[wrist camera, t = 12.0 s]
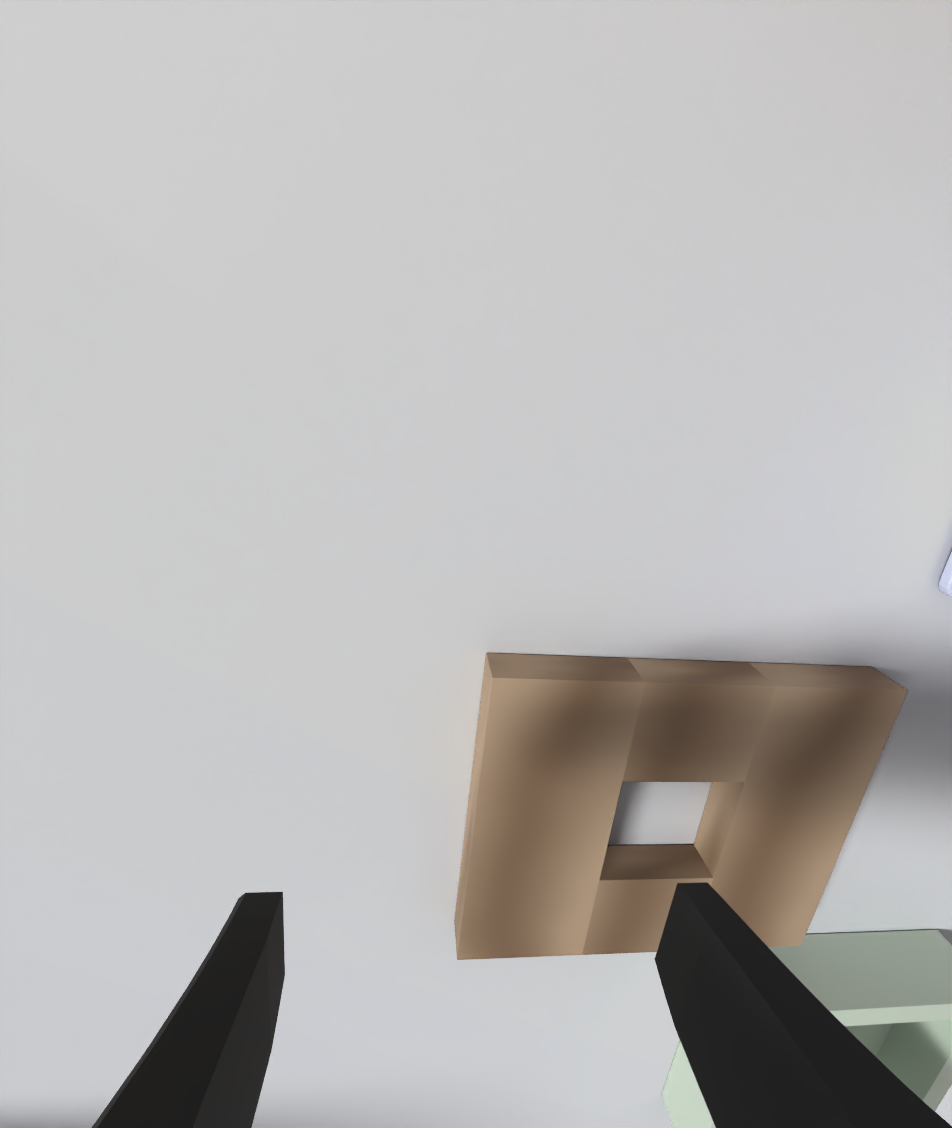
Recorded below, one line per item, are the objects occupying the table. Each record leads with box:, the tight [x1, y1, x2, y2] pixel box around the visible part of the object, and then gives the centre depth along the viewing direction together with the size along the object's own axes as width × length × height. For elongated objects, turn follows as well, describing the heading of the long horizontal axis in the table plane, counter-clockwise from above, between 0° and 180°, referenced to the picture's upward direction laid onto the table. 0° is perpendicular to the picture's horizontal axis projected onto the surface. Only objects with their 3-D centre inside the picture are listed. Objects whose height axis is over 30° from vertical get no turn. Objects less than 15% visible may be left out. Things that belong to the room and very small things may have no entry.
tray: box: [662, 930, 952, 1128], centre depth 25 cm, size 11×11×3 cm
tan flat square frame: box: [454, 653, 908, 960], centre depth 20 cm, size 14×12×2 cm
